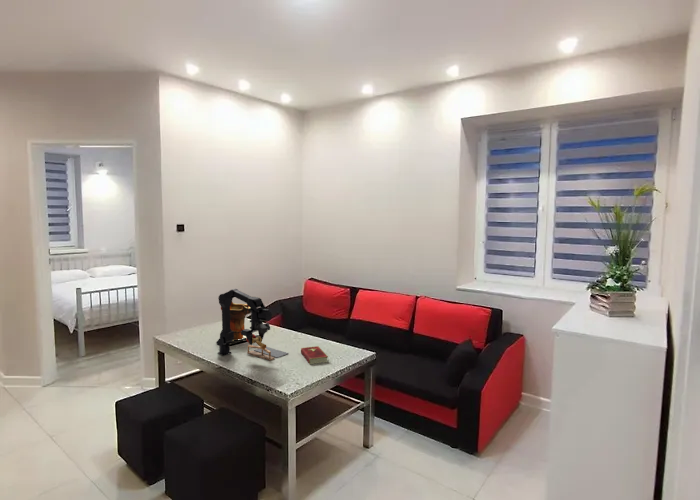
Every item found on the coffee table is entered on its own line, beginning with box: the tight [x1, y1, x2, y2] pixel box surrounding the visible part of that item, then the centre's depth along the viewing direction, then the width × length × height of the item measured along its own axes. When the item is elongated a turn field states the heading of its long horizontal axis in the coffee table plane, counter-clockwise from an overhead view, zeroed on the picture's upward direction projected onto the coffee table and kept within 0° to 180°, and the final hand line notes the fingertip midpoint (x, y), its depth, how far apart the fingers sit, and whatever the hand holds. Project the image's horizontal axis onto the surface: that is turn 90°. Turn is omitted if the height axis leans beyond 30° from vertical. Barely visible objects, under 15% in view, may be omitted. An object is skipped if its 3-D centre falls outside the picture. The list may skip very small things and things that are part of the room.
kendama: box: [245, 333, 267, 349], centre depth 249 cm, size 8×6×18 cm
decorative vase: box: [220, 301, 251, 342], centre depth 295 cm, size 21×23×28 cm
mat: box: [253, 346, 289, 359], centre depth 267 cm, size 22×10×1 cm, turn 55°
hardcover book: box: [300, 345, 329, 365], centre depth 259 cm, size 12×21×4 cm, turn 21°
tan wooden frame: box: [246, 344, 275, 361], centre depth 259 cm, size 21×4×6 cm, turn 55°
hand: (256, 343), depth 250 cm, fingers closed on kendama, 7 cm apart
